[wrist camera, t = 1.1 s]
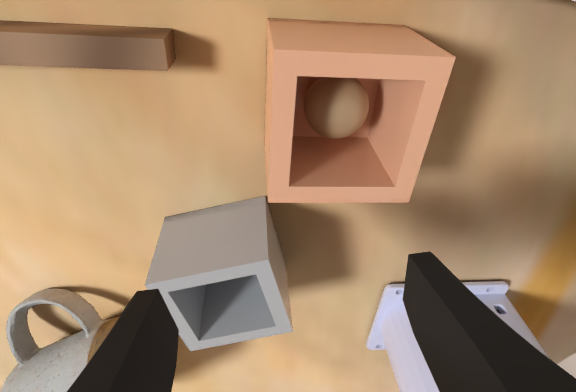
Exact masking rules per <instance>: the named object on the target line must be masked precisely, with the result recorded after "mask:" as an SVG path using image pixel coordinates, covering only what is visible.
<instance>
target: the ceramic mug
mask: <svg viewBox="0 0 576 392" xmlns="http://www.w3.org/2000/svg"><path fill="white" fill-rule="evenodd" d="M37 304H52V305H56V306H59V307H61V308H62V309H64V310H65V311H67V312H68V313H69V314H71V316H72V317H73V318H74V319H76V321H77V322H78V323H79V324H80V326H81V327H82V328H83V330H82V331H80V332H78V333H76V334H73V335H71V336H68V337H66V338H63V339H61V340H59V341H57V342H55V343H53V344H50V345H48V346H46V347H44V348H39V347H38V346H37V345H36V343H35V341H34V339H33V337H32V336H31V333H30V330H29V327H28V323H27V314H28V310H29V309H30V308H31V307H33V306H35V305H37ZM118 318H119V317H116V318H112V319H107V320H101V318H100V316H99V315H98V313H97V311H96V310H95V308H94V307H93V306H92V305H91V304H90V303H88V302H87V301H86V300H85V299H84V298H82V297H81V296H80V295H78V294H76V293H74V292H72V291H69V290H66V289H57V288H52V289H45V290H42V291H39V292H37V293H35V294H33V295H32V296H30V297H29V298H27V299H26V300H24V301H23V302H21V303H20V304H18V305H17V306H16V307H15V308H14V309H13V310H12V311H11V313H10V315H9V317H8V320H7V327H6V330H7V339H8V342H9V345H10V349H11V352H12V354H13V355H14V357H15V358H16V360H17V362H18V364H17V365H16V367H15V368H14V369H13V371H12V372H11V373H10V374H9V376H8V377H7V378H6V380H5V382H4V385H3V387H2V389H1V392H67V391H68V389H69V388H70V387H71V385H72V384H73V383H74V381H75V380H76V379H77V377H78V376H79V375H80V373H81V372H82V371H83V369H84V368H85V366H86V365H87V364H88V362H89V361H90V359H91V358H92V356H93V355H94V354H95V352H96V351H97V349H98V348H99V346H100V345H101V344H102V342H103V341H104V339H105V338H106V336H107V335H108V333H109V332H110V330H111V329H112V327H113V326H114V324H115V323H116V321H117V320H118Z"/></svg>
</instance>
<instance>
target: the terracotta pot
mask: <svg viewBox="0 0 576 392" xmlns="http://www.w3.org/2000/svg"><path fill="white" fill-rule="evenodd" d="M455 59H456V57H455V56H453V55H451V54H450V53H448V52H447V51H445V50H443V49H442V48H440V47H439V46H437V45H435V44H434V43H432V42H430V41H429V40H427V39H426V38H424V37H422V36H421V35H419V34H418V33H416V32H414V31H413V30H411V29H409V28H408V27H406V26H405V25H392V24H373V23H353V22H334V21H315V20H296V19H277V18H268V23H267V61H266V99H265V136H264V148H265V163H266V179H267V195H268V203H406V202H409V200H410V197H411V194H412V191H413V188H414V185H415V182H416V179H417V175H418V172H419V169H420V166H421V163H422V160H423V157H424V154H425V151H426V148H427V145H428V142H429V139H430V135H431V132H432V129H433V126H434V123H435V120H436V117H437V114H438V111H439V108H440V105H441V102H442V99H443V96H444V92H445V89H446V86H447V83H448V80H449V77H450V74H451V71H452V68H453V65H454V62H455ZM320 77H338V78H356V79H357V80H359V81H360V82H361V84H362V85H363V86H364V88H365V90H366V92H367V95H368V99H369V110H368V114H367V117H366V120H365V121H364V123H363V124H362V126H361V127H360V128H359V129H358V130H357V131H356V132H355V133H353V134H351V135H350V136H347V137H344V138H339V139H333V138H327V137H324V136H322V135H320V134H318V133H317V132H315V131H314V130H313V129H312V127H311V126H310V125H309V123H308V121H307V119H306V116H305V112H304V101H305V97H306V94H307V92H308V90H309V88H310V87H311V85H312V84H313V83H314V82H315V81H316V80H317V79H319V78H320Z"/></svg>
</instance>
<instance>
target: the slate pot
mask: <svg viewBox="0 0 576 392" xmlns="http://www.w3.org/2000/svg"><path fill="white" fill-rule="evenodd" d="M145 286H146V287H147V289H148V290H151V289H159V291H160V293H161V295H162V297H163V299H164V301H165V303H166V305H167V307H168V309H169V311H170V313H171V315H172V317H173V319H174V321H175V323H176V325H177V327H178V329H179V336H180V337H181V339H182V340H183V341H184V343H185V344H186V346H187V347H188V349H189V350H190V351H195V350H200V349H205V348H210V347H216V346H221V345H226V344H231V343H236V342H242V341H247V340H252V339H257V338H262V337H268V336H273V335H278V334H283V333H288V332H293V327H292V318H291V308H290V299H289V289H288V280H287V270H286V264H285V261H284V257H283V254H282V251H281V247H280V244H279V241H278V237H277V234H276V231H275V227H274V224H273V221H272V217H271V214H270V211H269V207H268V204H267V201H266V198H265V196H263V197H258V198H253V199H249V200H244V201H239V202H234V203H230V204H225V205H220V206H216V207H211V208H206V209H202V210H197V211H192V212H188V213H183V214H178V215H174V216H169V217H165V219H164V222H163V226H162V229H161V232H160V236H159V239H158V242H157V246H156V249H155V252H154V256H153V259H152V262H151V266H150V269H149V272H148V276H147V279H146V283H145Z"/></svg>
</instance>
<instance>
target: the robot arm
mask: <svg viewBox="0 0 576 392" xmlns="http://www.w3.org/2000/svg"><path fill="white" fill-rule="evenodd" d="M508 288H509V286H508V284H507V283H506V282H504V281H490V282H461V281H460V280H459V279H458V278H457V277H456V276H455V275H454V274H453V273H452V272H451V271H450V270H449V269H448V268H447V267H446V266H445V265H444V264H443V263H442V262H441V261H440V260H439V259H438V258H437V257H436V256H435V255H434V254H432V253H431V252H423V253H415V254H409V256H408V263H407V270H406V278H405V284H390V285H387V286H386V287H385V289H384V292H383V295H382V298H381V301H380V304H379V307H378V310H377V313H376V316H375V319H374V322H373V325H372V328H371V331H370V334H369V336H368V339H367V342H366V345H367V348H368V349H370V350H380V349H386V350H387V353H388V356H389V360H390V363H391V366H392V369H393V372H394V375H395V378H396V381H397V384H398V387H399V391H400V392H576V379H575V378H574V377H573V376H572V375H570V374H569V373H568V372H566V371H565V370H564V369H562V368H561V367H560V366H558V365H557V364H555V363H554V362H553V361H552V360H551V359H550V358H549V356H548V355H547V354H546V352H545V351H544V349H543V348H542V346H541V345H540V344H539V342H538V341H537V339H536V338H535V336H534V335H533V334H532V332H531V331H530V329H529V328H528V326H527V325H526V324H525V322H524V321H523V319H522V318H521V316H520V315H519V313H518V312H517V311H516V309H515V308H514V306H513V305H512V303H511V302H510V301H509V299H508V298H507V296H506V295H505V293H506V292H507V290H508ZM178 335H179V329H178V327H177V325H176V323H175V321H174V319H173V317H172V315H171V313H170V311H169V309H168V307H167V305H166V303H165V301H164V299H163V297H162V295H161V293H160V291H159V289H151V290H144V291H137V292H136V293H135V295H134V296H133V297H132V299H131V300H130V302H129V303H128V305H127V306H126V308H125V309H124V311H123V312H122V314H121V315H120V317H119V318H118V320H117V321H116V323H115V324H114V326H113V327H112V329H111V330H110V332H109V333H108V335H107V336H106V338H105V339H104V341H103V342H102V344H101V345H100V346H99V348H98V349H97V351H96V352H95V354H94V355H93V356H92V358H91V359H90V361H89V362H88V364H87V365H86V366H85V368H84V369H83V371H82V372H81V373H80V375H79V376H78V377H77V379H76V380H75V381H74V383H73V384H72V385H71V387H70V388H69V389H68V391H67V392H171V390H172V385H173V379H174V374H175V369H176V361H177V350H178Z"/></svg>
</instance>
